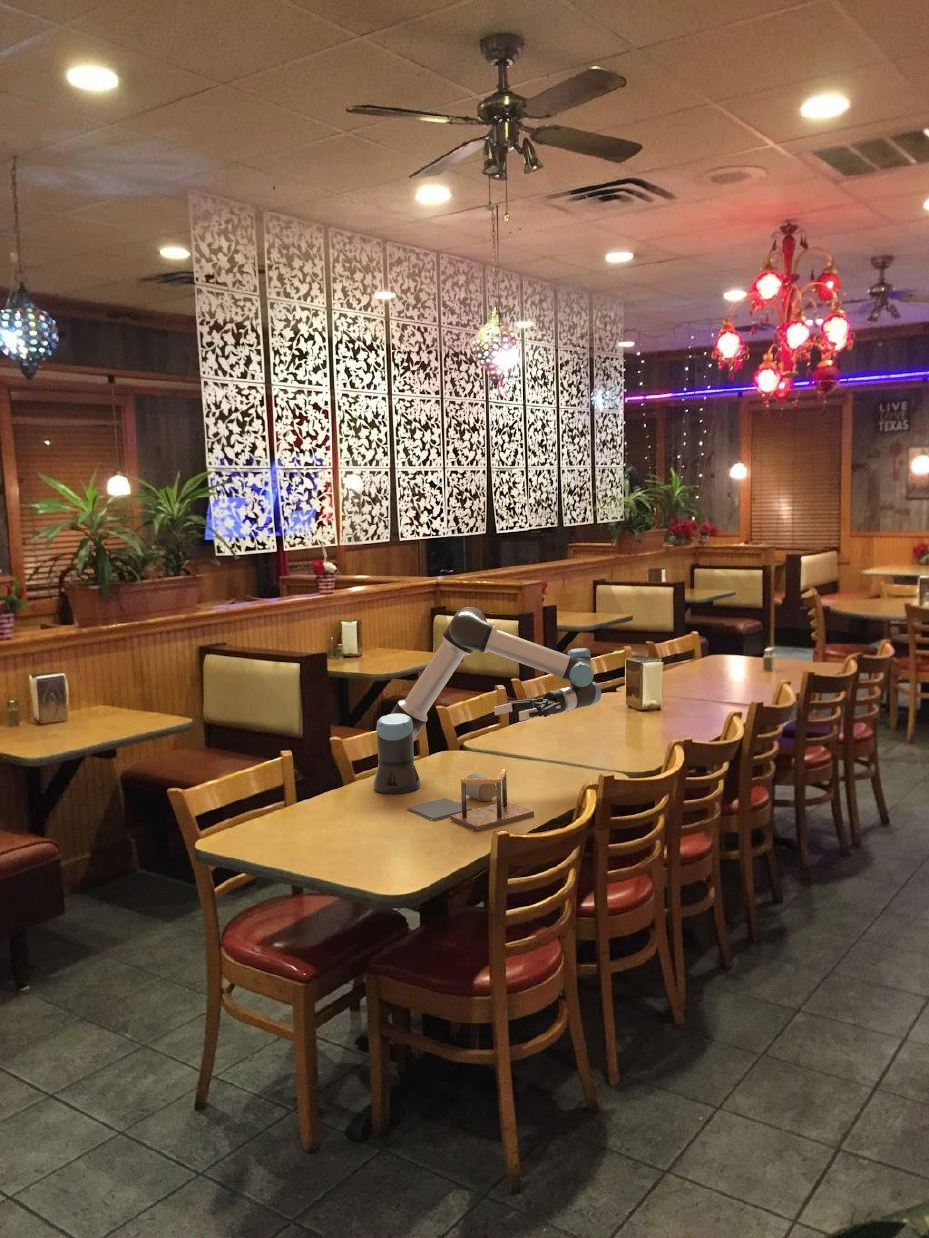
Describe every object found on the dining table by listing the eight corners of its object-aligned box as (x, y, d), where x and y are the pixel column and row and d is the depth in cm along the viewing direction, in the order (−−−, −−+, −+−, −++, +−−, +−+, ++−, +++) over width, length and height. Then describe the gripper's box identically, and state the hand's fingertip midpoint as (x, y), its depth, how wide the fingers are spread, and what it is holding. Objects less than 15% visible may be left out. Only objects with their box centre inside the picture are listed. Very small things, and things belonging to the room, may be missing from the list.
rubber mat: (407, 809, 302) (407, 807, 302) (445, 800, 311) (445, 797, 310) (433, 820, 291) (433, 818, 291) (471, 810, 299) (471, 808, 299)
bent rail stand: (450, 820, 291) (448, 777, 289) (506, 805, 303) (505, 764, 302) (476, 831, 281) (475, 787, 279) (533, 816, 293) (533, 773, 291)
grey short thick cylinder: (479, 804, 305) (479, 780, 304) (463, 798, 312) (463, 774, 311) (506, 798, 312) (505, 774, 311) (489, 792, 318) (488, 769, 317)
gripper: (585, 716, 316) (531, 730, 305) (537, 707, 337) (486, 720, 326) (583, 693, 315) (529, 706, 304) (535, 685, 336) (484, 697, 325)
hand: (507, 713), depth 315 cm, fingers open, 13 cm apart
